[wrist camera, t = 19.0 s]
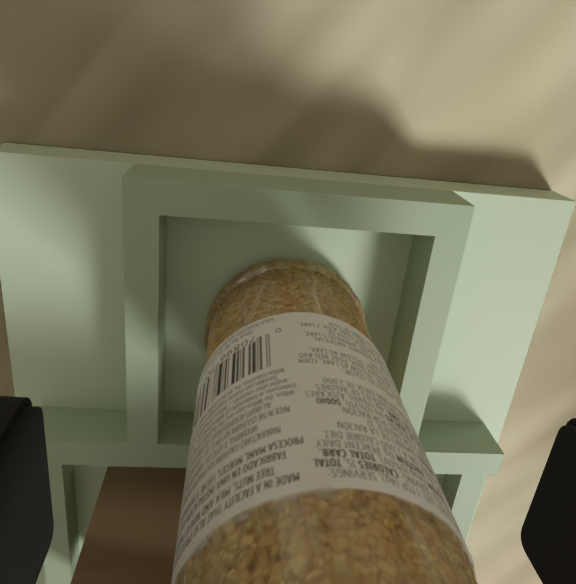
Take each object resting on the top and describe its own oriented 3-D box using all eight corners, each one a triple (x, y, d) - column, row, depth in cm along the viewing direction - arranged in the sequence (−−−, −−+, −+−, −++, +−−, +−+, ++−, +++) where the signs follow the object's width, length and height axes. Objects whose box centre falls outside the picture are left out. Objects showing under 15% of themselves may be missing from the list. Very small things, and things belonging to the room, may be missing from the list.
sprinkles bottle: (261, 418, 17) (306, 1455, 4) (171, 306, 15) (-172, 1514, 3) (392, 345, 16) (889, 1345, 4) (314, 218, 14) (763, 1327, 2)
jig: (438, 568, 22) (463, 634, 19) (49, 566, 20) (23, 638, 18) (552, 190, 16) (610, 217, 13) (5, 142, 14) (-46, 163, 11)
